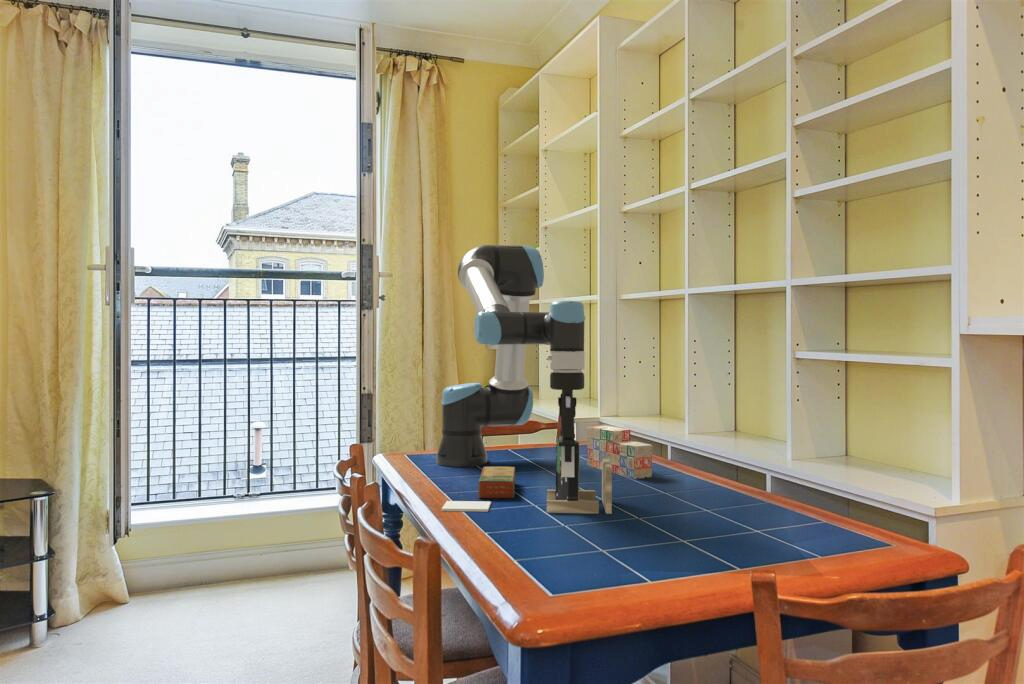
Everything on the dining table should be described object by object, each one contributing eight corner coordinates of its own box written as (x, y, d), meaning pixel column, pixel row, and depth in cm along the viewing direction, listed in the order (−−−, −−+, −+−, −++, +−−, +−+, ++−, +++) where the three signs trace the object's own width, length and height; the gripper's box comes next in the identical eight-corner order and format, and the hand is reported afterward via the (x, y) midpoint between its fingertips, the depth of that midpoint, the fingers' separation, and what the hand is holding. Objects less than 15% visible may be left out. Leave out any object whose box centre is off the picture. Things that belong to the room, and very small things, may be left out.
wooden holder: (547, 500, 155) (547, 456, 155) (607, 501, 155) (607, 457, 155) (546, 513, 144) (546, 465, 144) (611, 513, 143) (611, 466, 143)
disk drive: (580, 511, 145) (580, 441, 145) (567, 511, 144) (567, 441, 144) (566, 500, 155) (566, 435, 155) (555, 500, 154) (555, 435, 154)
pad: (446, 503, 153) (446, 500, 153) (490, 504, 152) (490, 501, 152) (441, 511, 146) (441, 508, 146) (488, 512, 145) (488, 509, 145)
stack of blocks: (652, 479, 180) (652, 433, 180) (634, 482, 177) (634, 434, 177) (604, 466, 199) (604, 424, 199) (586, 468, 196) (586, 425, 196)
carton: (515, 482, 172) (515, 465, 172) (514, 498, 156) (514, 480, 156) (482, 482, 172) (482, 465, 172) (478, 498, 156) (478, 480, 156)
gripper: (550, 369, 161) (550, 462, 161) (550, 373, 138) (550, 482, 138) (581, 369, 161) (581, 463, 161) (587, 373, 138) (587, 482, 138)
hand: (567, 472), depth 149 cm, fingers closed on disk drive, 10 cm apart
